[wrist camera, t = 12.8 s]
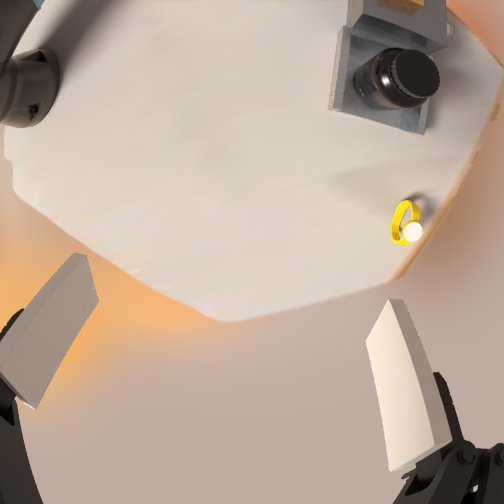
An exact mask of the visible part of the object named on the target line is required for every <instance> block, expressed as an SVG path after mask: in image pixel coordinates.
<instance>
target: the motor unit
mask: <svg viewBox="0 0 504 504" xmlns="http://www.w3.org/2000/svg"><path fill="white" fill-rule="evenodd" d="M454 32H455V28H454V25H453V24H452V23H450V22H448V21H447V16H446V0H349V3H348V15H347V26H343V27H342V29H341V30H340V32H339V33H338V38H337V46H336V54H335V62H334V70H333V77H332V84H331V91H330V98H329V104H328V109H329V110H333V111H337V112H342V113H346V114H350V115H354V116H358V117H361V118H365V119H368V120H372V121H375V122H379V123H382V124H385V125H389V126H392V127H395V128H398V129H401V130H404V131H407V132H410V133H413V134H420V135H424V132H425V126H426V120H427V114H428V107H429V99H430V96H429V98H428V100H427V101H426V102H425V103H424V104H423V105H421V106H420V107H417V108H414V109H404V110H388V111H382V110H377V109H374V108H372V107H370V106H369V105H367V104H366V103H365V102H364V101H363V100H362V99H361V98H360V96H359V94H358V92H357V90H356V87H355V76H356V73H357V71H358V69H359V68H360V67H361V66H362V65H363V64H364V63H365V62H367V61H368V60H370V59H371V58H372V57H374V56H375V55H377V54H378V53H380V52H381V51H383V50H385V49H388V48H393V47H398V48H403V49H408V50H409V49H413V50H414V49H416V50H417V51H421V52H422V53H425V54H426V55H427V54H429V53H432V52H435V51H438V50H440V49H443V48H446V47H447V41H450V40H451V39H452V38H453V36H454ZM427 56H429V55H427ZM429 58H430V59H432V61H433V57H431V56H429Z"/></svg>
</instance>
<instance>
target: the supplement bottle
mask: <svg viewBox="0 0 504 504" xmlns="http://www.w3.org/2000/svg"><path fill="white" fill-rule="evenodd" d="M439 79H440V76H439V72H438V69H437V67H436V65H435V63H434V62H433V61H432V59H430V58H429V56H427V55H426V54H425V53H422V52H421V51H417V50H416V49H414V50H413V49H409V50H408V49H403V48H398V47H393V48H388V49H385V50H383V51H381V52H380V53H378V54H377V55H375V56H374V57H372V58H371V59H370V60H368V61H367V62H365V63H364V64H363V65H362V66H361V67H360V68H359V69H358V71H357V73H356V76H355V87H356V90H357V92H358V94H359V96H360V98H361V99H362V100H363V101H364V102H365V103H366V104H367V105H369V106H370V107H372V108H374V109H377V110H382V111H388V110H404V109H414V108H417V107H420V106H421V105H423V104H424V103H425V102H426V101H427V100H428V98H429V96H432V95H433V94H434V93H436V90H438V87H439V83H440V80H439Z"/></svg>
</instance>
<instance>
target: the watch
mask: <svg viewBox="0 0 504 504" xmlns="http://www.w3.org/2000/svg"><path fill="white" fill-rule="evenodd" d="M409 206H410V207H411V212H412V213H411V220H410V221H408V222H407V223H406V224H405V225H404V227H403V230H402V233H403V236H404V237H403V238H402V239H401V240H400V237H399V226H400V223H401V220H402V218H403V215H404V213H405V210H406V209H407V208H408V207H409ZM420 215H421V214H420V210H419V206H418V205H417V204H416V203H414V202H412V201H409V200H404V201H402V202H401V203H400V204H399V205H398V207H397V210H396V212H395V215H394V218H393V220H392V222H391V229H390V233H391V238H392V240H393V241H394V242H395V243H397V244H400V245H403V246H404V245H408V244H409V243H410V242H414V241H416V240H418V239H419V238H420V237H421V235H422V231H423V229H422V226H421V224H420V217H421V216H420Z"/></svg>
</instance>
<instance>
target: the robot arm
mask: <svg viewBox="0 0 504 504" xmlns="http://www.w3.org/2000/svg"><path fill="white" fill-rule="evenodd" d="M44 1H45V0H0V124H4V125H8V126H12V127H16V128H26V127H31V126H34V125H36V124H38V123H39V122H40V121H41V120H42V119H43V118H44V117H45V115H46V114H47V113H48V111H49V109H50V107H51V105H52V103H53V101H54V98H55V95H56V91H57V87H58V81H59V66H58V61H57V59H56V57H55V55H54V54H53V53H52V52H51V51H49V50H45V49H33V50H30V51H27V52H24V53H21V54H18V55H15V56H13V57H12V55H13V53H14V51H15V49H16V47H17V45H18V43H19V41H20V40H21V38H22V36H23V34H24V33H25V31H26V29H27V27H28V26H29V24H30V23H31V21H32V19H33V18H34V16H35V15H36V13H37V12H38V11H39V10H40V9H41V5H42V4H43V2H44ZM98 302H99V300H98V296H97V293H96V289H95V286H94V282H93V279H92V275H91V271H90V267H89V263H88V259H87V255H83V254H78V253H73V254H72V255H71V256H70V257H69V259H68V260H67V261H66V262H65V263H64V264H63V265H62V266H61V267H60V268H59V269H58V270H57V272H56V273H55V274H54V275H53V276H52V277H51V278H50V279H49V280H48V282H47V283H46V284H45V285H44V286H43V287H42V289H41V290H40V291H39V292H38V293H37V295H36V296H35V297H34V298H33V299H32V301H31V302H30V303H29V304H28V306H27V307H26V308H25V309H21V310H19V311H18V312H17V313H15V314H14V315H13V316H12V317H11V319H10V320H9V321H8V323H7V325H6V326H5V327H4V328H3V329H2V332H1V333H0V504H43V502H42V499H41V497H40V494H39V491H38V489H37V486H36V483H35V480H34V477H33V474H32V471H31V467H30V464H29V460H28V456H27V452H26V448H25V444H24V440H23V436H22V431H21V426H20V420H19V414H18V408H17V403H16V401H15V399H14V398H15V396H17V397H18V398H19V399H20V400H21V401H22V402H23V403H25V404H27V405H28V406H29V407H31V408H33V409H34V410H36V409H37V407H38V405H39V403H40V401H41V399H42V397H43V395H44V393H45V391H46V389H47V387H48V385H49V383H50V382H51V380H52V378H53V376H54V374H55V372H56V370H57V369H58V367H59V365H60V363H61V361H62V360H63V358H64V356H65V355H66V353H67V351H68V350H69V348H70V346H71V344H72V343H73V341H74V340H75V338H76V336H77V335H78V333H79V331H80V330H81V328H82V327H83V325H84V323H85V322H86V320H87V318H88V317H89V316H90V314H91V313H92V311H93V309H94V308H95V306H96V305H97V303H98ZM366 345H367V349H368V353H369V357H370V362H371V366H372V371H373V375H374V380H375V385H376V390H377V395H378V399H379V405H380V411H381V416H382V422H383V428H384V434H385V441H386V448H387V455H388V463H389V471H396V470H400V469H405V468H408V467H410V466H412V465H413V464H415V463H416V468H415V469H414V470H411V471H410V472H408V473H406V474H404V475H403V476H402V478H401V479H404V478H407V477H409V476H410V477H409V478H408V479H407V480H406V481H407V482H406V484H405V485H404V487H403V489H402V490H401V492H400V494H399V495H398V496H397V498H396V500H395V501H394V503H393V504H504V444H503V443H498V444H496V445H495V446H494V447H492V448H491V449H480V448H475V446H474V444H472V443H471V442H470V441H466V440H464V438H463V435H462V432H461V428H460V424H459V421H458V417H457V414H456V411H455V408H454V405H453V404H452V403H453V401H452V398H451V396H450V392H449V389H448V386H447V383H446V381H445V380H444V378H443V377H442V376H441V374H440V373H439V372H434V373H432V370H431V367H430V365H429V361H428V359H427V356H426V353H425V351H424V348H423V346H422V343H421V341H420V338H419V336H418V333H417V331H416V328H415V326H414V323H413V321H412V319H411V317H410V314H409V312H408V310H407V308H406V305H405V303H404V301H403V300H398V299H388V301H387V303H386V305H385V307H384V309H383V311H382V312H381V315H380V316H379V318H378V320H377V322H376V324H375V325H374V327H373V329H372V331H371V333H370V335H369V336H368V338H367V340H366ZM476 485H478V489H477V491H476V492H473V487H474V486H476Z"/></svg>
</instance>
